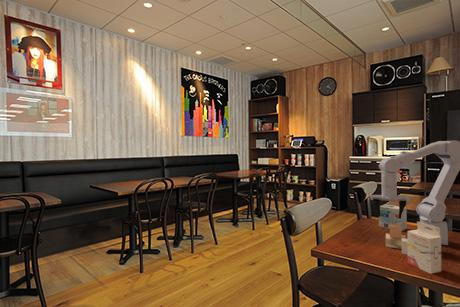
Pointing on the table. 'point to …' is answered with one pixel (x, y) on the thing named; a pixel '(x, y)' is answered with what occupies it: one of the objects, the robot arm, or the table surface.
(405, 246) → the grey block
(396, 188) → the robot arm
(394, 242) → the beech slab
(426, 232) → the ink cartridge box
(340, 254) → the table surface
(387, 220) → the light bulb box
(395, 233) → the terracotta block
